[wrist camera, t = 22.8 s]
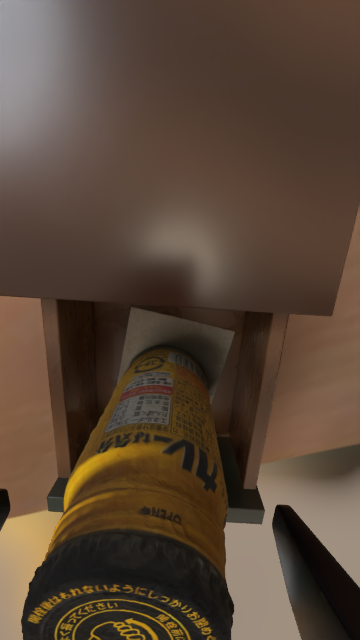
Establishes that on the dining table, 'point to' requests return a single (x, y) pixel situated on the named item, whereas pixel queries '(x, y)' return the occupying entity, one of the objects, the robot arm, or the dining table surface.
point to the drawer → (102, 376)
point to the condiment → (144, 502)
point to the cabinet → (179, 151)
